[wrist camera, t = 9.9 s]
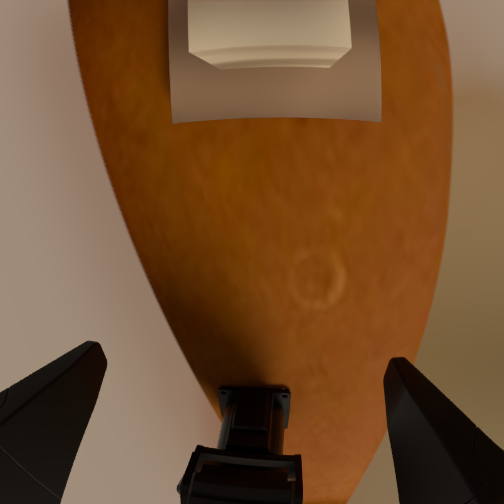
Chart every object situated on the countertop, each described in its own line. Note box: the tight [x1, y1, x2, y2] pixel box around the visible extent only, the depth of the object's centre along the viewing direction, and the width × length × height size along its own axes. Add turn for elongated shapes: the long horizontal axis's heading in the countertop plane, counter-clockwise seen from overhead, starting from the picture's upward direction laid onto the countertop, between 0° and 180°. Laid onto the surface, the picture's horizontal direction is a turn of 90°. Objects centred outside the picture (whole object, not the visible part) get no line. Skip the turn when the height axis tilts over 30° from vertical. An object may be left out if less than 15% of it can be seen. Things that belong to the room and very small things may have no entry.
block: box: [188, 0, 352, 70], centre depth 9 cm, size 5×5×5 cm
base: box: [168, 0, 382, 123], centre depth 12 cm, size 10×10×3 cm
